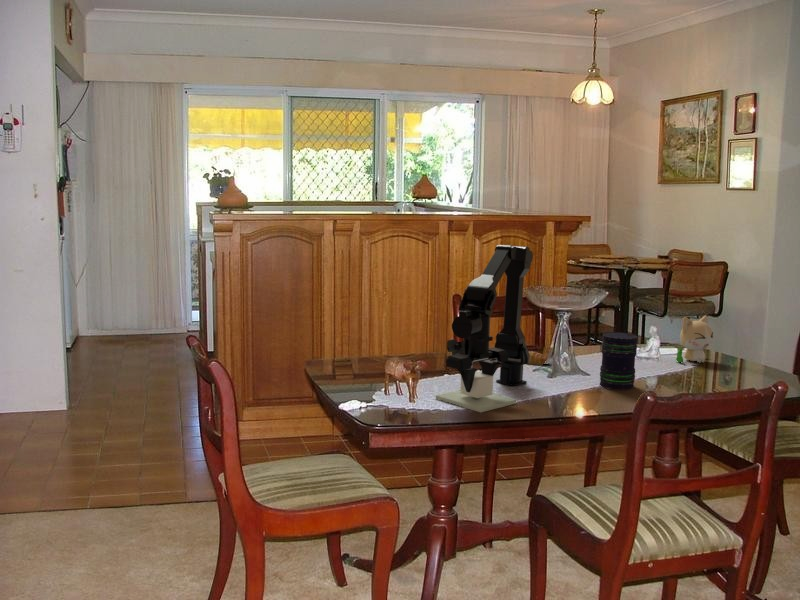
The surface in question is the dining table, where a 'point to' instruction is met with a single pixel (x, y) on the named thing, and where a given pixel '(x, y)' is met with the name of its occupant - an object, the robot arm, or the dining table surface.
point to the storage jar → (618, 360)
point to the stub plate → (476, 401)
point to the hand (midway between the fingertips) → (476, 390)
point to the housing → (479, 386)
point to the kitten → (695, 339)
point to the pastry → (537, 358)
